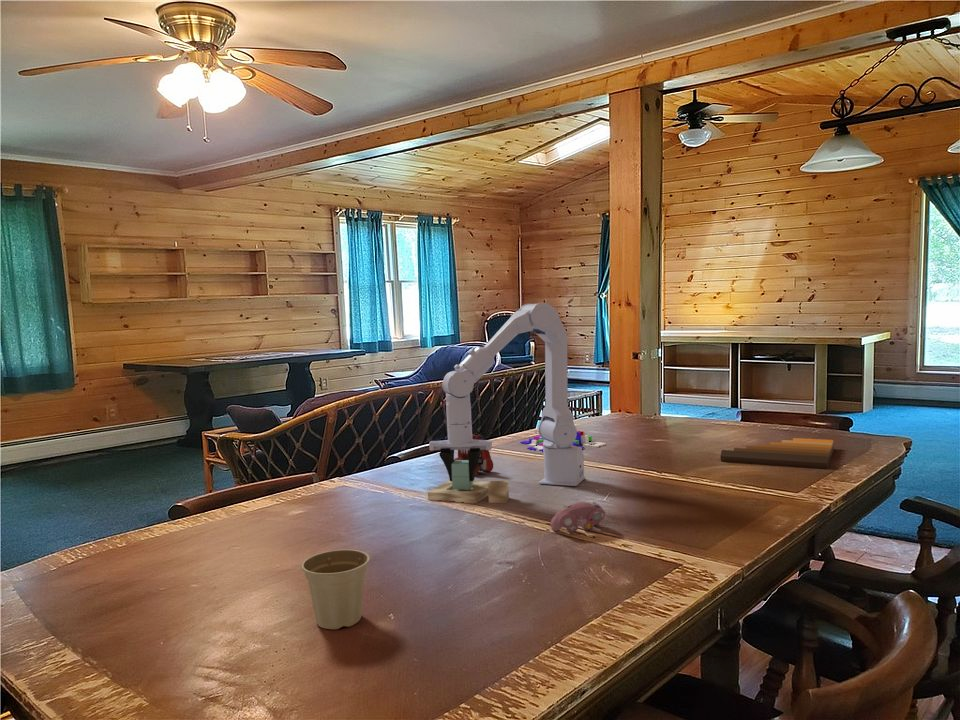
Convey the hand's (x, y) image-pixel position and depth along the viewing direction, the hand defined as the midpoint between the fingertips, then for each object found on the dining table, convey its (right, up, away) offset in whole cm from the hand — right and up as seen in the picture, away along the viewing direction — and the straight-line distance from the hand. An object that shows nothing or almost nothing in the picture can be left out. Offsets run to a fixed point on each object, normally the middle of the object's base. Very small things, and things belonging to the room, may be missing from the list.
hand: (462, 480), depth 159 cm
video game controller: (+23, -5, -29) cm, 37 cm away
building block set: (+29, +1, +52) cm, 59 cm away
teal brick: (0, -2, 0) cm, 2 cm away
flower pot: (-16, -9, -63) cm, 65 cm away
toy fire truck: (+3, -2, +22) cm, 22 cm away
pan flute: (+85, +2, +24) cm, 88 cm away
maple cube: (+8, -4, -6) cm, 11 cm away
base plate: (0, -3, 0) cm, 3 cm away
